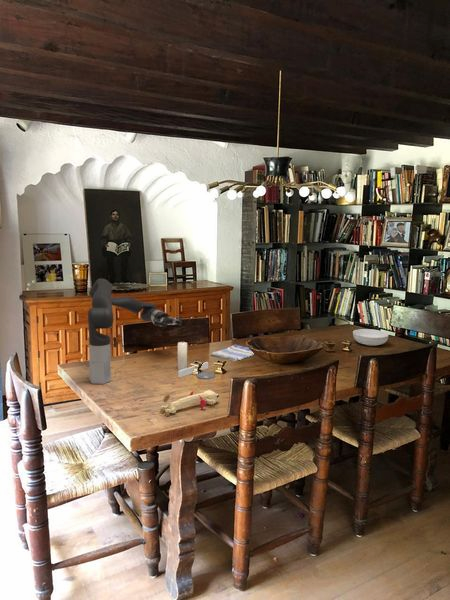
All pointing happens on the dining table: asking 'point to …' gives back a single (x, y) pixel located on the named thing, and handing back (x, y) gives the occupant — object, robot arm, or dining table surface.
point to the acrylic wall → (191, 370)
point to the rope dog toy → (189, 401)
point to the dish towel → (234, 353)
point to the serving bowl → (370, 337)
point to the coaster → (205, 375)
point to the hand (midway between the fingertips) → (173, 324)
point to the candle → (182, 355)
